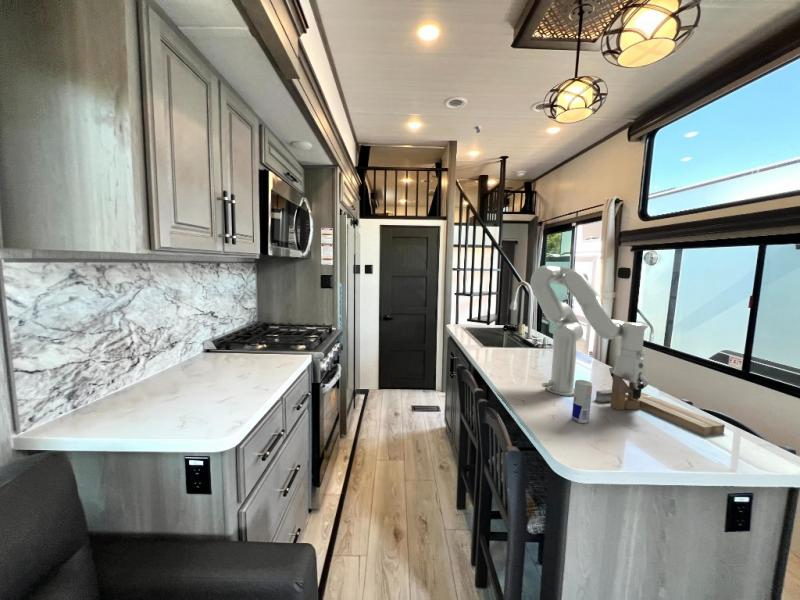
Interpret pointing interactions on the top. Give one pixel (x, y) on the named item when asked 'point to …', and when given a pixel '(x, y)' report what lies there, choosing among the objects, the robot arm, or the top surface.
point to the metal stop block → (604, 395)
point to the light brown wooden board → (680, 415)
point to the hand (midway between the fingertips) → (626, 393)
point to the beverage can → (582, 401)
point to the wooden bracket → (623, 395)
